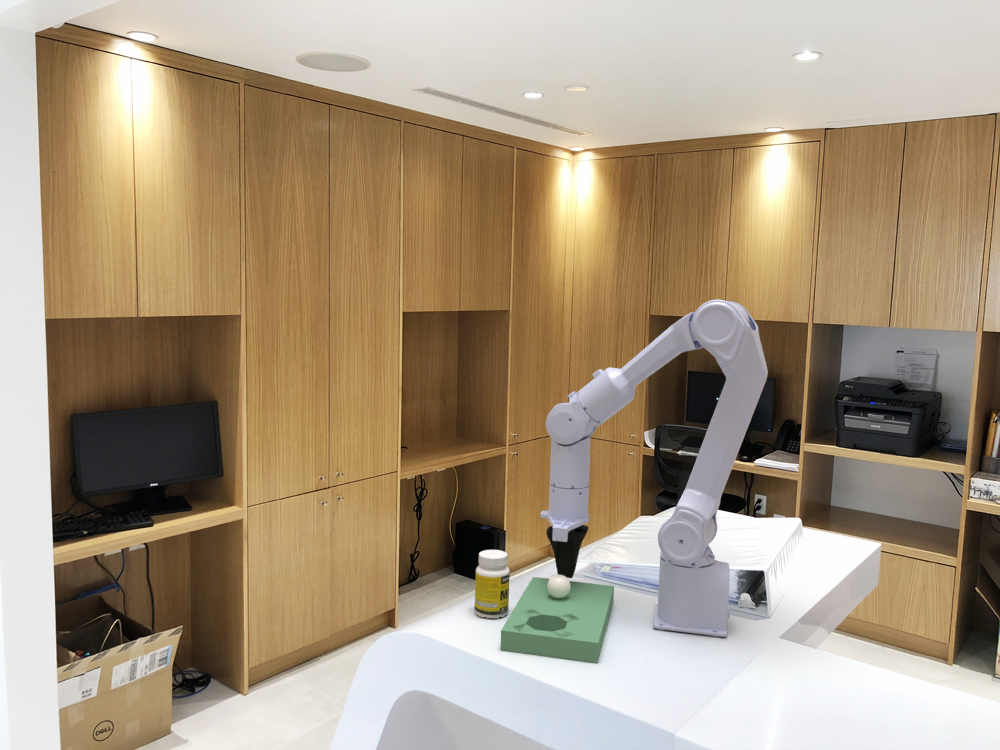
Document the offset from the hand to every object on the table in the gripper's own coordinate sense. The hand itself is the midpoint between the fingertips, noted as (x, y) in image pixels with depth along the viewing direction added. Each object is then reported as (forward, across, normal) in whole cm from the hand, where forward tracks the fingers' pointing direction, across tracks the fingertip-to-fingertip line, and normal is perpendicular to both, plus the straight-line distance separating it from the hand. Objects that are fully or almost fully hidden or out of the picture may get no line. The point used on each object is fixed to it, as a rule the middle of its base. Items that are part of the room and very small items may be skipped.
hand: (565, 576), depth 112 cm
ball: (-1, +6, 0) cm, 6 cm away
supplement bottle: (+4, +8, -9) cm, 13 cm away
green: (+3, +9, +1) cm, 10 cm away
